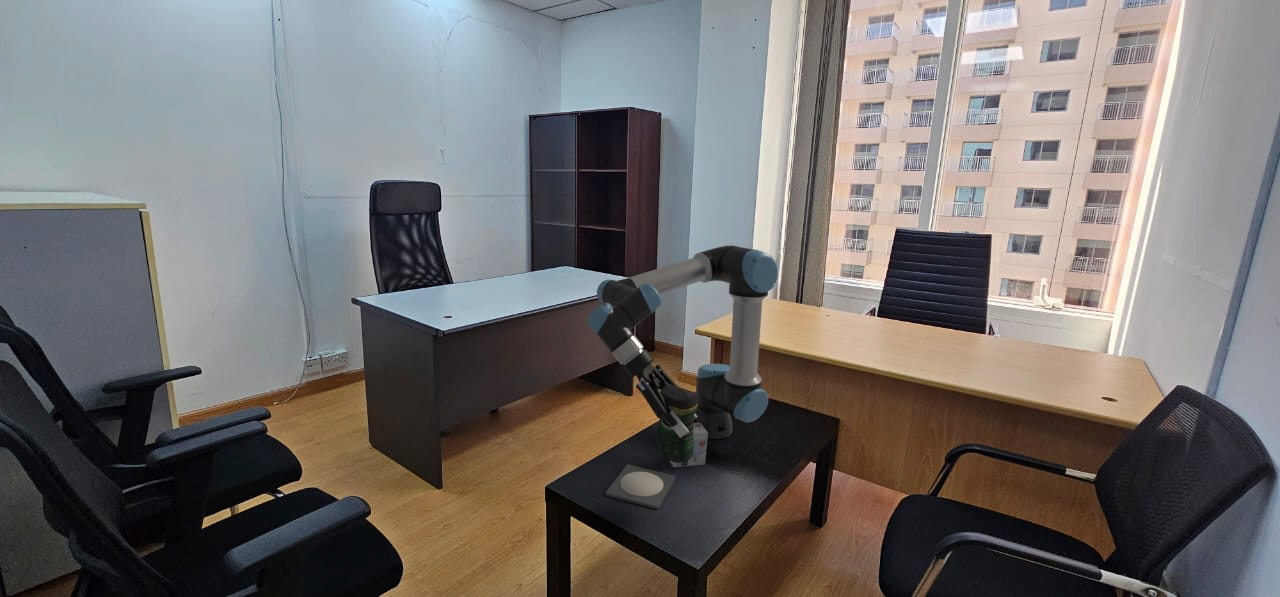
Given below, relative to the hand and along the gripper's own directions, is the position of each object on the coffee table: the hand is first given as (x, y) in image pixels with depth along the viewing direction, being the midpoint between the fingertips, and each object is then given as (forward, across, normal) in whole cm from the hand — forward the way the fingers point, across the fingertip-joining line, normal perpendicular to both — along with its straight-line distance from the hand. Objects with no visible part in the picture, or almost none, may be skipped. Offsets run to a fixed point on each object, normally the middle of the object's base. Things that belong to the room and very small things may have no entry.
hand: (688, 426), depth 135 cm
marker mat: (+7, -4, -25) cm, 26 cm away
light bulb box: (+13, -22, -19) cm, 32 cm away
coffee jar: (+4, 0, -9) cm, 9 cm away
